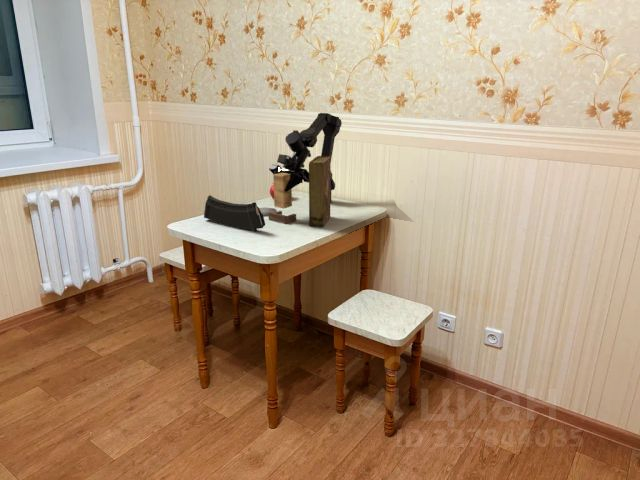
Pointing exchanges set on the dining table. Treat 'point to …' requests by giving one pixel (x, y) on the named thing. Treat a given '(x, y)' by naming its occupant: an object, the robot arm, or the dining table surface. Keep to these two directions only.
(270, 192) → the pomegranate
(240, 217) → the magazine
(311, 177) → the book
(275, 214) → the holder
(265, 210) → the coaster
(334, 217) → the dining table surface
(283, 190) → the oak block
